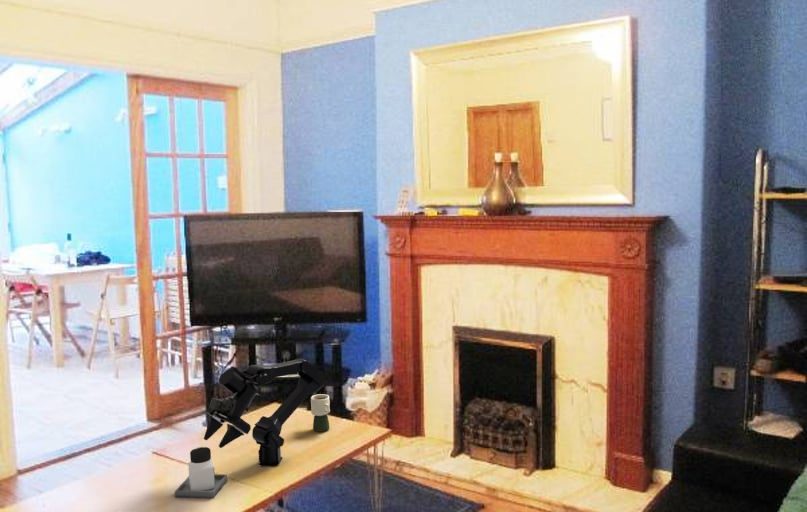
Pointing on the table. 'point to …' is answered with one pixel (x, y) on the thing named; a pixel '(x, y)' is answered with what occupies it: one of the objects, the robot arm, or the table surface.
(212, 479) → the medicine bottle
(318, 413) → the character mug
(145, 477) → the table surface
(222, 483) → the tray
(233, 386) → the robot arm
